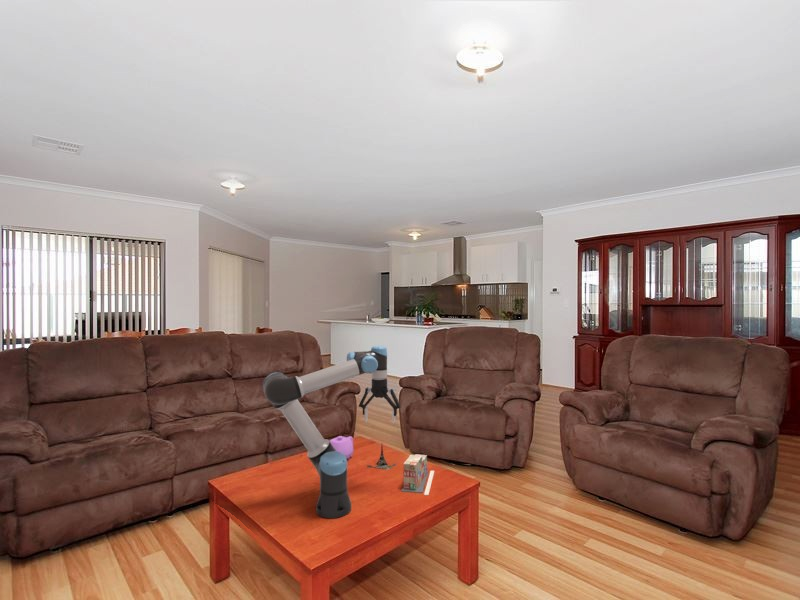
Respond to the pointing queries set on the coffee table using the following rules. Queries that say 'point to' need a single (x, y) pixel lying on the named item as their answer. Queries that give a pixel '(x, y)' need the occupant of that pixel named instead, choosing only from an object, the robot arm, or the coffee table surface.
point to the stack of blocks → (414, 471)
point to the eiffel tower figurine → (382, 462)
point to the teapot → (343, 445)
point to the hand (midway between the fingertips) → (379, 422)
